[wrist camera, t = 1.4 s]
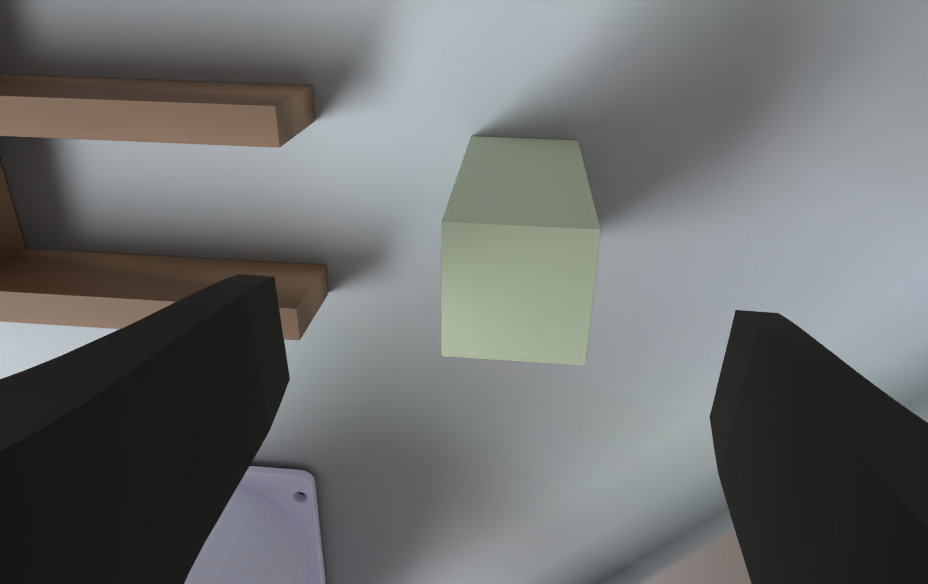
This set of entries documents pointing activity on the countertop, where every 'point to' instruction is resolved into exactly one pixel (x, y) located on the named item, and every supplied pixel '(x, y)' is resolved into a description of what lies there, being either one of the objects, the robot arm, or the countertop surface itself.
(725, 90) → the countertop surface
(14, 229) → the comb rack
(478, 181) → the sage block
